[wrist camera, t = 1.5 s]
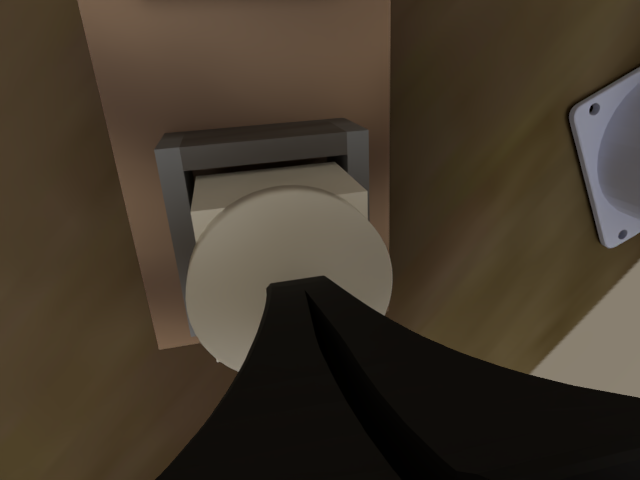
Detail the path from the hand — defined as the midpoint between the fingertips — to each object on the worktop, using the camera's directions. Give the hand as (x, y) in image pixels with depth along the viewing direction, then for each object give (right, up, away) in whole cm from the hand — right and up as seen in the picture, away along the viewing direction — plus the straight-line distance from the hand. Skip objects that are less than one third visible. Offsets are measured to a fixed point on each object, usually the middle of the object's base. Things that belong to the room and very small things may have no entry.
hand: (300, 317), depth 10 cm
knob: (-1, +2, +5) cm, 5 cm away
